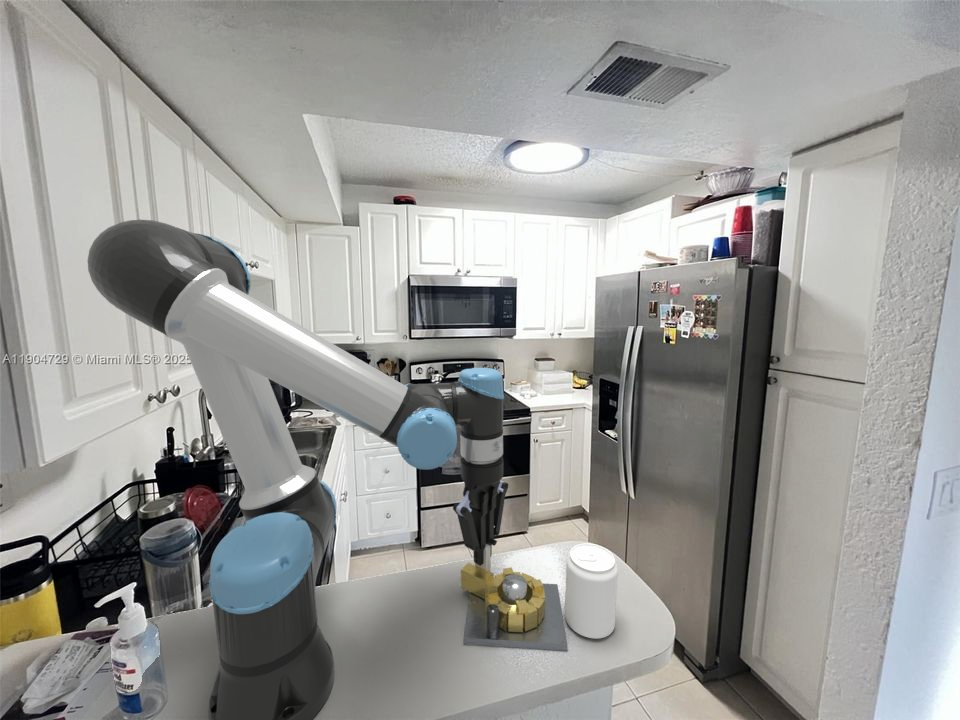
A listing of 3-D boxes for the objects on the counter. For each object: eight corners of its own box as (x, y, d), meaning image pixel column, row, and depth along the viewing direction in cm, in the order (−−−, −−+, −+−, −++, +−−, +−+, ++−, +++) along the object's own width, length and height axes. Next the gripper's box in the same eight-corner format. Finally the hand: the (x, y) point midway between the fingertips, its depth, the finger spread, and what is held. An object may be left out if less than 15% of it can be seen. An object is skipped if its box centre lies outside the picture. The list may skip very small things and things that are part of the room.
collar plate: (464, 644, 62) (463, 609, 61) (471, 585, 75) (471, 555, 74) (567, 651, 60) (568, 615, 60) (557, 589, 73) (558, 559, 72)
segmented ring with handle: (553, 601, 69) (554, 580, 68) (527, 642, 60) (528, 619, 60) (479, 568, 77) (479, 549, 77) (448, 600, 69) (447, 580, 68)
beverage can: (617, 646, 61) (621, 576, 60) (564, 637, 63) (567, 569, 61) (611, 607, 69) (614, 544, 67) (564, 600, 71) (566, 538, 69)
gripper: (473, 474, 62) (475, 607, 66) (520, 450, 71) (519, 567, 75) (440, 462, 67) (444, 586, 71) (488, 440, 76) (489, 551, 80)
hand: (482, 576), depth 73 cm, fingers closed
